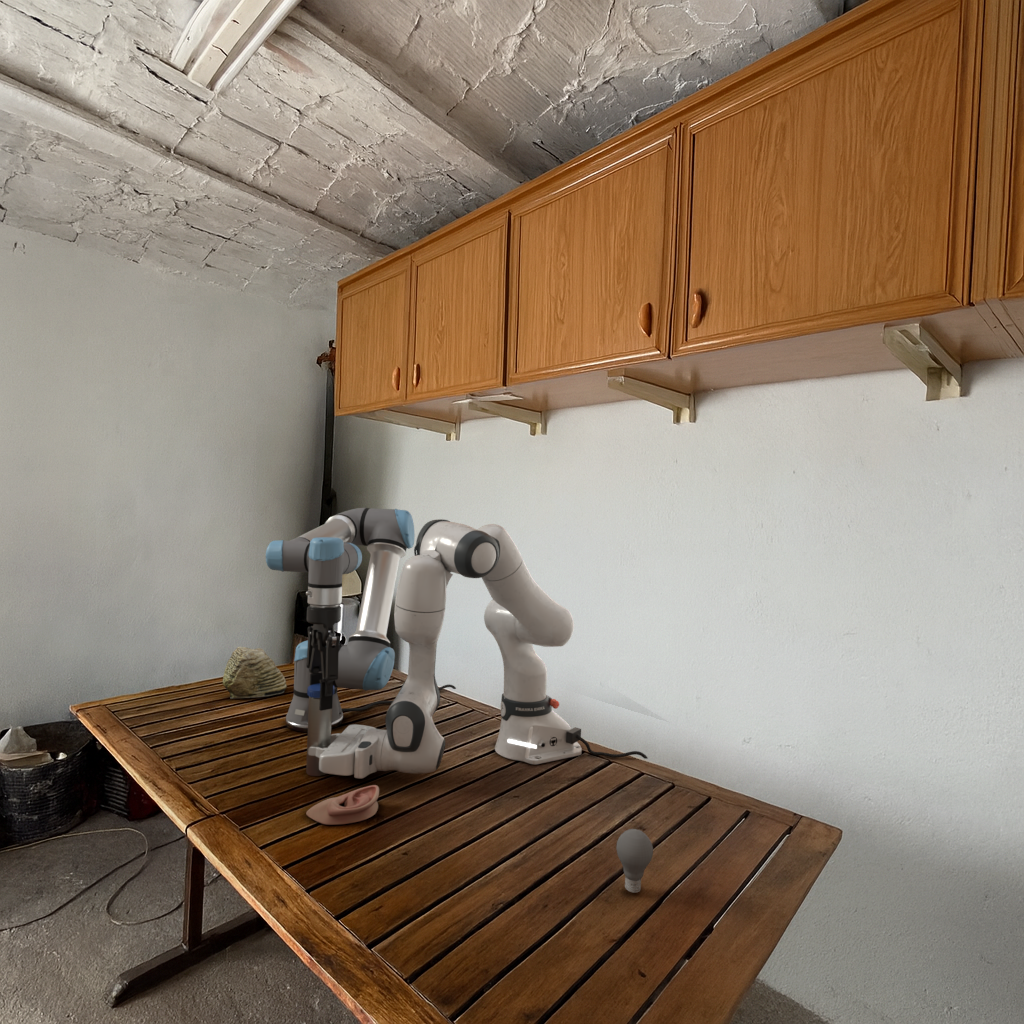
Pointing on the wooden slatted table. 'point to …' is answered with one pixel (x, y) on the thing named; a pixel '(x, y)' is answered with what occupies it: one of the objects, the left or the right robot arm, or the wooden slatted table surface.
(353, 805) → the anatomical model
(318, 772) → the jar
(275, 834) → the wooden slatted table surface
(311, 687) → the lid
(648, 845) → the light bulb
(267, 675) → the fossil
